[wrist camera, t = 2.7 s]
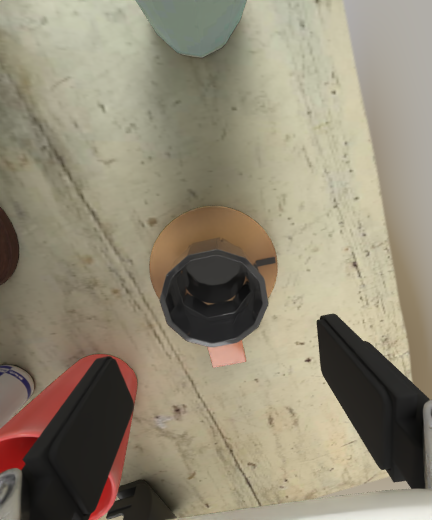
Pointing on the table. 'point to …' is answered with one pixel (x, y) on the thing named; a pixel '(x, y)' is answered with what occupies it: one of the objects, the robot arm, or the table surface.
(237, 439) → the table surface
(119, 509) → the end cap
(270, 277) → the disc
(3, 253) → the ball on stand
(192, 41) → the disposable coffee cup
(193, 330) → the hollow tube
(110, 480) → the flower pot
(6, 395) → the energy drink
